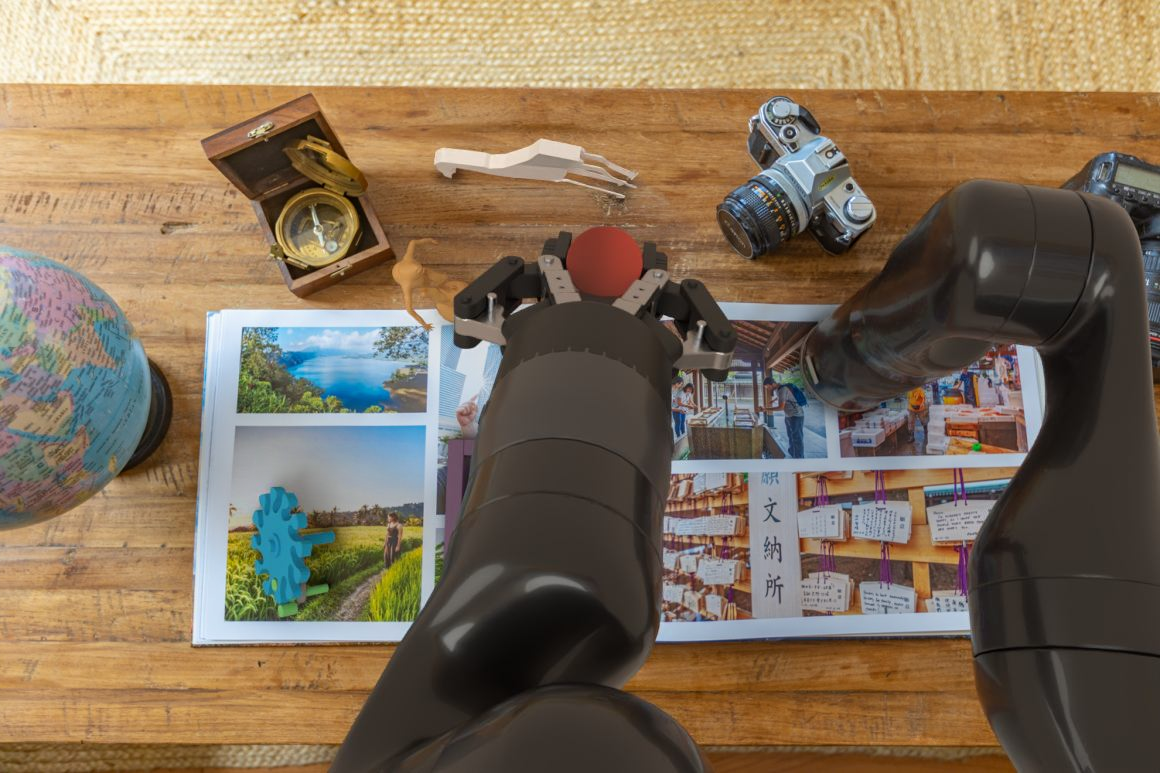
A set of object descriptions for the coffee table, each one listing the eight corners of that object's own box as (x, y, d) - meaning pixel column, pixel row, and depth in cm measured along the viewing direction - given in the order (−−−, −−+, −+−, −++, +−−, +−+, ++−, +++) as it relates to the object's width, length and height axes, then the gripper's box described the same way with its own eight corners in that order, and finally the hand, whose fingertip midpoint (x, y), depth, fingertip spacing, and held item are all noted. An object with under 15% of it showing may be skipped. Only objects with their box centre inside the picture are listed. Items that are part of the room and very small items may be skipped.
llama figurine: (598, 204, 84) (432, 156, 78) (646, 165, 74) (459, 105, 67) (595, 221, 84) (429, 174, 77) (644, 183, 73) (456, 125, 67)
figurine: (479, 350, 75) (460, 317, 63) (416, 349, 75) (385, 316, 63) (482, 266, 76) (464, 219, 65) (420, 266, 76) (390, 218, 65)
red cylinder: (633, 274, 49) (643, 226, 41) (633, 336, 48) (642, 299, 41) (569, 273, 49) (566, 225, 41) (568, 335, 48) (565, 298, 41)
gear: (242, 486, 71) (292, 489, 64) (304, 480, 75) (358, 482, 68) (246, 610, 71) (297, 626, 64) (309, 596, 75) (363, 611, 68)
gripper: (402, 481, 34) (482, 293, 48) (735, 527, 33) (717, 324, 47) (395, 331, 29) (486, 173, 43) (778, 382, 29) (744, 205, 43)
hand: (606, 252), depth 45 cm, fingers open, 4 cm apart
